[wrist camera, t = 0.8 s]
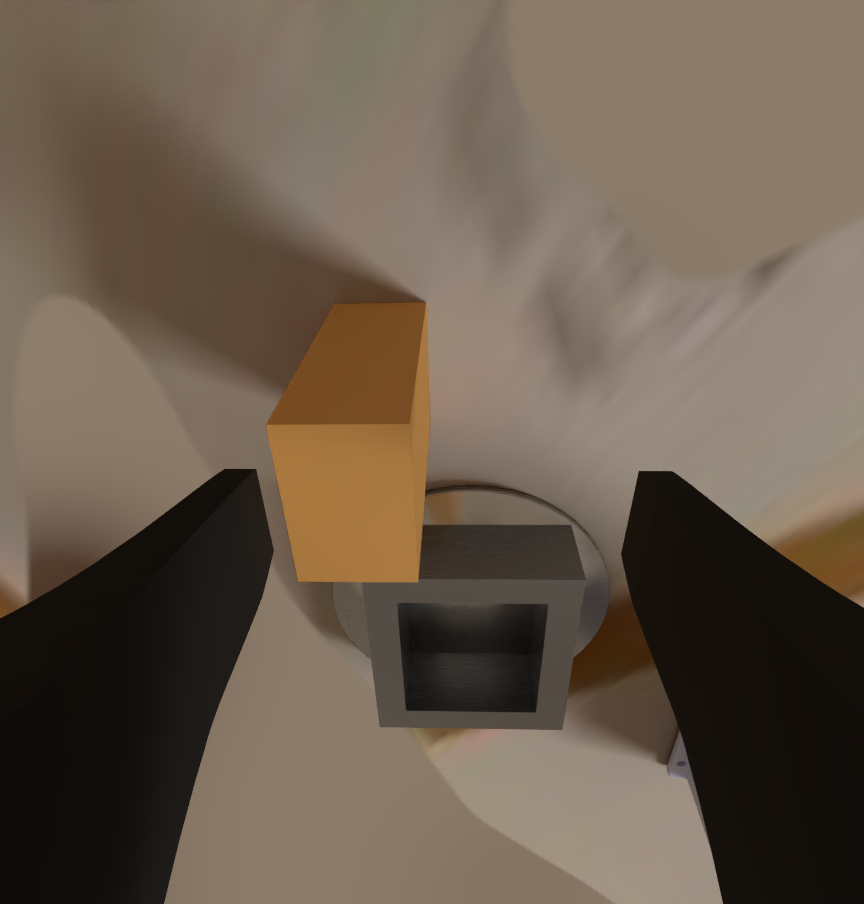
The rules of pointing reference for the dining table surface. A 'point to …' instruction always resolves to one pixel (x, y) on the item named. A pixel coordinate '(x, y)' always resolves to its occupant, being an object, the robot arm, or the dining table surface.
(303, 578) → the rectangular block
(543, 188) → the dining table surface
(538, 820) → the dining table surface
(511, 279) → the dining table surface
